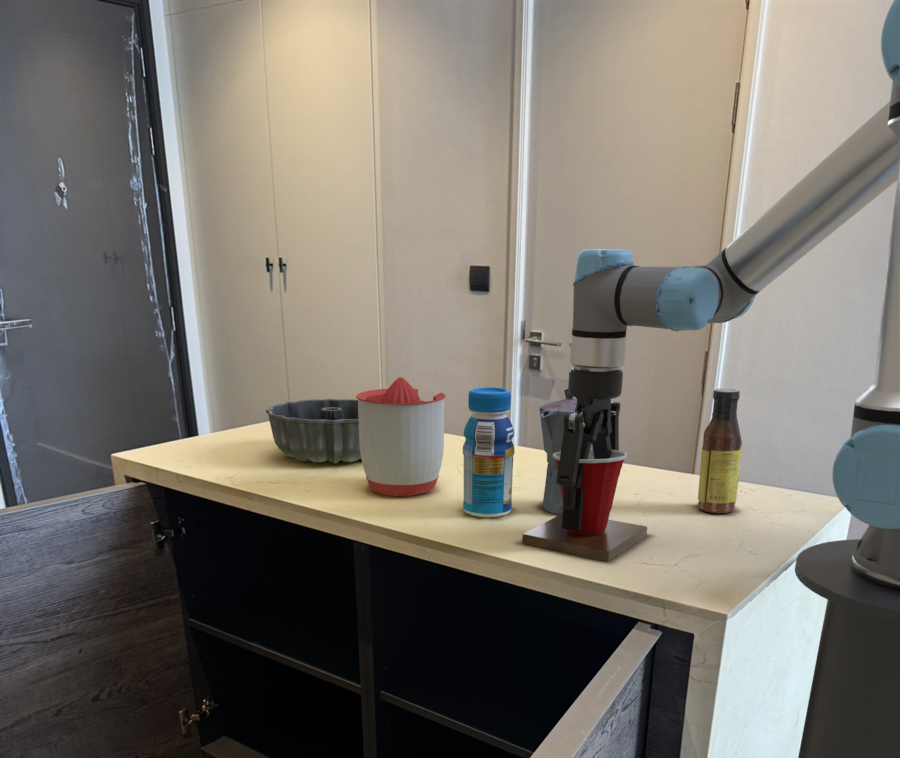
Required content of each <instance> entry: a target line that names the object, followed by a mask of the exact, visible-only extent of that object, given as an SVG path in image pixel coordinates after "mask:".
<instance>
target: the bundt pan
mask: <svg viewBox="0 0 900 758" xmlns="http://www.w3.org/2000/svg"><path fill="white" fill-rule="evenodd" d="M265 413H266V414H267V416H268V420H269V425H270V429H271V433H272V437H273V441H274V443H275V445H276V447H277V448H278V449H279V450H280V451H281V452H282V453H283V454H285V456H287V457H289V458H292V459H295V460H297V461H299V462H302V463H309V462H313V463H316V464H322V463H326V462H330V463H331V464H332V465H336V464H338V463H339V462H340V461H342V462H343V463H353V462H356V461H361V462H362V459H361V454H360V443H359V417H358V399H354V398H353V399H352V398H351V399H350V398H340V399H339V398H324V399H322V398H321V399H320V398H319V399H318V398H316V399H314V398H313V399H300V400H296V401H285V402H284V403H278V404H272V405H271V406H269V408H266V409H265Z"/></svg>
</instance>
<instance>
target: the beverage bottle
mask: <svg viewBox="0 0 900 758" xmlns="http://www.w3.org/2000/svg"><path fill="white" fill-rule="evenodd" d="M467 400H468V401H467V402H468V403H467V405H468V411H469V412H470V413H472V414H471V415H470V417H469V418H468V419H467V421H466V423H465V426H464V429H463V436H464V439H465V441H464V443H463V445H462V454H463V500H462V510H463V511H464V512H465V514H467V515H469V516H472V517H476V518H487V519H488V518H489V519H491V518H499V517H504V516H506V515H509V514H510V513H511V512H512V509H513V501H512V499H513V473H514V456H515V445H514V442H513V438H514V436H515V429H514V425H513V423H512V421H511V420H510V417H509V416H508V414H507V413H510V412H511V407H512V406H511V404H512V394H511V390H510V389H508V388H504V387H497V386H495V387H494V386H485V387H484V386H483V387H475V388H471V389H469V391H468V399H467Z"/></svg>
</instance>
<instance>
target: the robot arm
mask: <svg viewBox="0 0 900 758" xmlns="http://www.w3.org/2000/svg"><path fill="white" fill-rule="evenodd" d="M880 54H881V59H882V63H883V66H884V69H885V72H886V74H887V76H888V77H889V79H891V81H892V83H891V91H890V92H891V93H890V99H889V101H888V102H887V103H886V104H885V105H883V106H882V107H881V108H880V109H879V110H878V111H876V113H874V114H873V116H871V117H870V118H869V119H868V120H866V121H865V122H864V123H863V124H862V125H861V126H860V127H859V128H858V129H856V131H854V132H853V133H852V134H851V135H850V136H849V137H848V138H847V139H845V141H843V142H842V143H841V144H840V145H839V146H838V147H837V148H835V149H834V150H833V151H832V152H831V153H829V154H828V155H827V157H825V158H824V159H823V160H822V161H820V163H818V164H817V165H816V166H815V167H814V168H813V169H812V170H810V172H808V173H807V174H806V175H805V176H804V177H803V178H802V179H800V181H799V182H797V183H796V184H795V185H794V186H793V187H792V188H790V190H788V191H787V192H786V193H785V194H784V195H783V196H782V197H780V198H779V200H777V201H776V202H774V204H772V205H771V206H770V207H769V208H768V209H767V210H766V211H765V212H764V213H763V214H762V215H760V216H759V217H758V218H757V219H756V220H755V221H753V222H752V223H751V224H750V225H749V226H748V227H747V228H746V229H745V230H744V231H742V232H741V233H740V234H739V235H738V236H737V237H735V238H734V240H732V241H731V242H730V243H729V244H728V245H726V247H725V248H724V249H723V250H722V251H720V252H719V253H718V254H717V255H716V256H715V257H714V258H712V260H710V261H708V263H706V264H705V265H689V266H688V265H687V266H686V265H684V266H640V265H634V261H633V260H634V259H633V253H632V251H631V250H629V249H617V248H611V249H609V248H608V249H607V248H605V249H603V248H593V249H592V248H586V249H583V250H582V251H580V252H579V253H578V255H577V257H576V264H575V273H574V281H573V283H572V286H573V302H572V303H573V304H572V305H573V306H572V307H573V308H572V328H571V338H570V339H571V340H570V341H569V343H568V346H569V348H570V357H569V363H570V364H571V365H572V366H573V367H570V369H569V371H568V382H567V383H568V386H567V389H568V393H569V394H570V395H571V396H573V398H575V399H577V404H576V408H575V413H574V414H567V413H566V414H565V416H564V434H563V441H562V448H561V454H560V461H559V468H558V474H557V484H558V485H561V486H564V503H563V519H562V528H563V529H568V530H573V531H578V532H579V531H581V521H582V507H583V492H584V487H580V486H581V482H582V479H583V463H582V464H580V465H578V464H579V459H588V455H589V452H590V448H591V444H592V446H593V453H594V459H608V458H610V455H611V451H612V450H617V451H620V432H619V431H620V423H619V422H620V420H619V419H620V418H619V417H620V413H621V412H620V411H621V402H618V401H612V399H613V400H614V399H616V398H619V397H620V396H621V395H622V393H623V392H622V391H623V379H624V372H623V370H622V369H621V368H622V367H623V366H624V365H625V359H626V345H627V344H626V343H627V331H628V330H627V329H628V327H643V328H654V329H664V330H671V331H672V332H681V331H682V332H683V331H685V332H686V331H699V330H702V329H704V328H705V327H706V326H707V324H723V323H727V322H731V321H732V320H735V319H738V318H740V317H741V316H743V315H745V314H746V313H747V312H748V311H749V310H750V308H751V306H752V305H753V303H754V301H755V298H756V296H757V295H758V294H759V293H760V292H761V291H762V290H764V289H765V288H766V287H768V285H770V284H771V283H773V282H774V281H775V280H776V279H777V278H778V277H780V276H781V275H782V274H783V273H785V272H786V271H787V270H789V269H790V268H791V267H792V266H794V265H795V264H796V263H797V262H798V261H800V259H802V258H804V257H805V256H806V255H807V254H808V253H809V252H811V251H812V250H813V249H814V248H816V247H817V246H818V245H819V244H821V243H822V242H823V241H824V240H825V239H827V238H828V237H829V236H831V235H832V234H833V233H835V231H837V230H838V229H839V228H840V227H842V226H843V225H845V223H847V221H849V220H850V219H851V218H853V217H854V216H855V215H856V214H858V213H859V212H860V211H861V210H862V209H864V208H865V207H866V206H867V205H869V204H870V203H871V202H872V201H874V200H875V199H876V198H878V197H879V196H880V195H881V194H882V193H883V192H885V191H886V190H887V189H888V188H889V187H891V186H892V185H894V184H895V183H896V190H895V195H894V197H895V198H894V203H893V204H894V206H893V213H892V222H891V228H890V237H889V246H888V254H887V261H886V262H887V263H886V269H885V278H884V284H883V285H884V286H883V293H882V302H881V310H880V318H879V326H878V335H877V342H876V351H875V359H874V366H873V373H872V382H871V385H870V386H869V388H868V389H866V390H865V391H864V392H863V393H862V394H861V395H859V396H858V397H857V398H856V399H855V401H854V408H853V414H852V415H853V416H852V424H851V430H850V437H849V438H848V439H847V440H846V441H845V442H844V443H843V444H842V446H841V447H840V449H839V450H838V453H837V454H836V456H835V458H834V462H833V467H832V473H831V474H832V485H833V489H834V492H835V494H836V496H837V499H838V501H839V502H840V504H841V505H842V506H843V507H844V508H845V509H846V510H847V511H848V512H849V514H850V515H851V516H853V517H854V518H856V519H857V520H858V521H860V522H862V523H864V524H866V525H868V526H867V528H866V530H865V532H864V533H863V535H862V536H861V538H860V539H861V540H860V542H859V543H858V545H857V547H856V548H855V551H854V553H853V556H852V561H851V569H852V571H853V572H854V573H855V574H856V575H858V576H859V577H861V578H862V579H864V580H866V581H868V582H871V583H873V584H876V585H878V586H881V587H884V588H888V589H891V590H895V591H900V0H893V1H892V3H891V5H890V7H889V9H888V12H887V14H886V17H885V19H884V22H883V26H882V30H881V36H880Z"/></svg>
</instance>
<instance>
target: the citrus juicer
mask: <svg viewBox="0 0 900 758" xmlns="http://www.w3.org/2000/svg"><path fill="white" fill-rule="evenodd" d="M355 398H356V400H358V417H359V443H360V454H361V459H362V461H361V463H362V468H363V470H364V474H365V478H366V482H367V484H368V485H369V486H368V487H369V488H370V490H372V491H373V492H375V493H378V494H380V495H381V494H382V495H387V496H395V497H398V498H407V497H409V496H415V495H416V496H417V495H422V494H426V493H429V492H432V491H433V490H434V489H435V487H436V484H437V483H438V480H439V478H440V477H439V476H440V471H441V469H442V463H443V458H444V449H445V447H444V446H445V399H446V394H445V393H443V392H439V393H437V394H435V395H433V396H432V400H427V401H424V400H421V398H420V396H419V389H418V388H414V387H413V386H412V385H411V384H410V383H409V382H408V381H407V380H406V379H405V378H404V377H401V376H400V377H397V378H396V379H395V380H394V381H393V382H392V383H391V385H390V386H389V387H388V388H379V389H371V390H366V391H361V392H359V393H357V394H356V396H355Z"/></svg>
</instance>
